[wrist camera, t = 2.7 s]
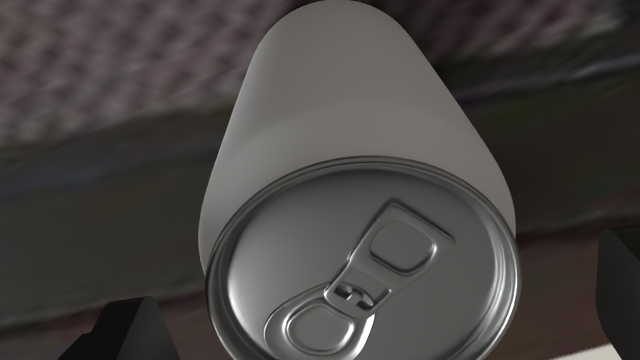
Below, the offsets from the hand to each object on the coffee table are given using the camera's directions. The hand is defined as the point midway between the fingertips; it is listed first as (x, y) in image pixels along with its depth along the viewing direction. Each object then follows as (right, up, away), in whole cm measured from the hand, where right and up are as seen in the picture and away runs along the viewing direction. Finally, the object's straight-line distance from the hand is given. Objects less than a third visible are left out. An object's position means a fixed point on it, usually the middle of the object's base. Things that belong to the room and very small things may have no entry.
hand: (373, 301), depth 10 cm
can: (0, +6, +11) cm, 12 cm away
